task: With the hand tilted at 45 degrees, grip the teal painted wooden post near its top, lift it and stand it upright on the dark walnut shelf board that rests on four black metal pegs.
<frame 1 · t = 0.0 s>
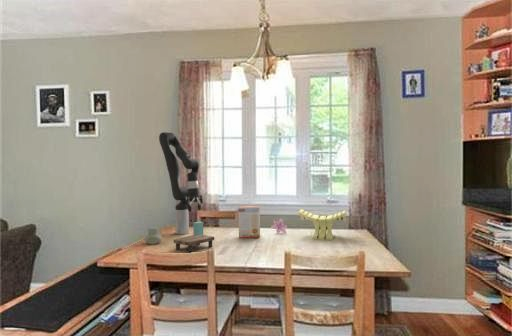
hand: (194, 210, 281), 17 cm above the table, tool pointing down, fingers open, 8 cm apart
cracker box: (249, 237, 274), on the table
air freshener: (153, 243, 258), on the table
slatted curved stool: (322, 237, 272), on the table
lily: (279, 233, 286), on the table
peg shelf: (194, 248, 244), on the table
teal post: (198, 240, 265), on the table
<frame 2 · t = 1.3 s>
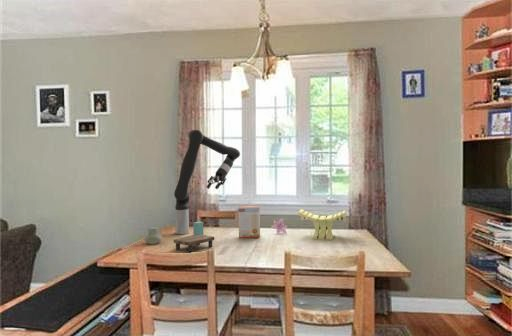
hand: (211, 188, 282), 33 cm above the table, tool tilted 45°, fingers open, 8 cm apart
nothing on the table moved.
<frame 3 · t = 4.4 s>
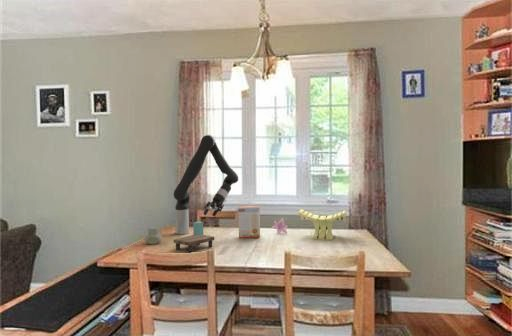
hand: (208, 215, 272), 16 cm above the table, tool tilted 45°, fingers open, 8 cm apart
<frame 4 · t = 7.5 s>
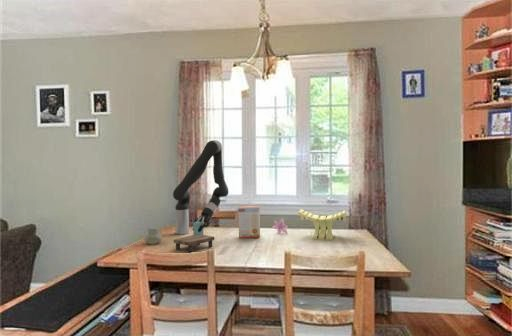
hand: (196, 230, 263), 7 cm above the table, tool tilted 45°, fingers closed on teal post, 4 cm apart
teal post: (198, 240, 265), on the table, touching gripper
everything else where it was.
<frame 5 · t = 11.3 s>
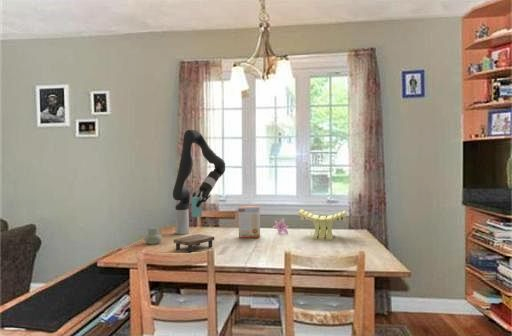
hand: (194, 206, 250), 24 cm above the table, tool tilted 45°, fingers closed on teal post, 4 cm apart
teal post: (196, 216, 252), point 18 cm above the table, touching gripper
when the fingers open (14 cm above the table, at t = 15.0 s): teal post drops 1 cm, resting on peg shelf.
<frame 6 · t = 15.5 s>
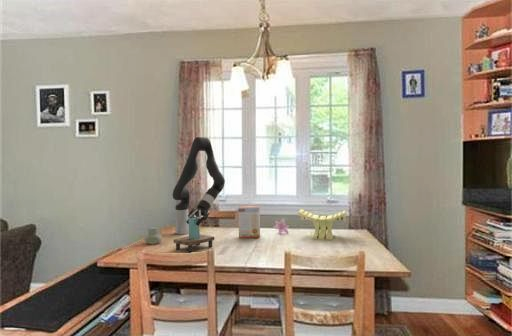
hand: (192, 224, 242), 15 cm above the table, tool tilted 45°, fingers open, 8 cm apart
teal post: (194, 238, 244), point 6 cm above the table, touching peg shelf
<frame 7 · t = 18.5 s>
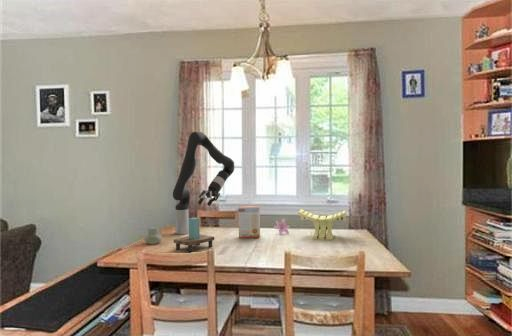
hand: (203, 204, 251), 25 cm above the table, tool tilted 45°, fingers open, 8 cm apart
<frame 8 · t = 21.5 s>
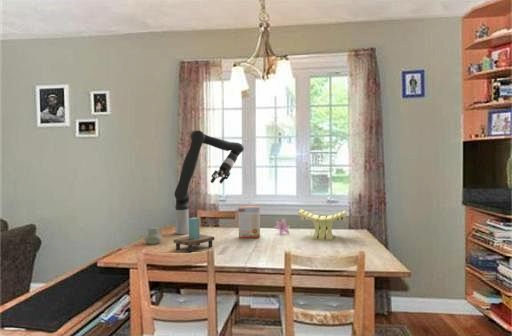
hand: (215, 182, 282), 37 cm above the table, tool tilted 45°, fingers open, 8 cm apart
at the end: teal post inside the target area on the peg shelf (0.2 cm from its centre), point 6.0 cm above the peg shelf's base; teal post tilted 0°; the gripper is holding nothing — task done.
